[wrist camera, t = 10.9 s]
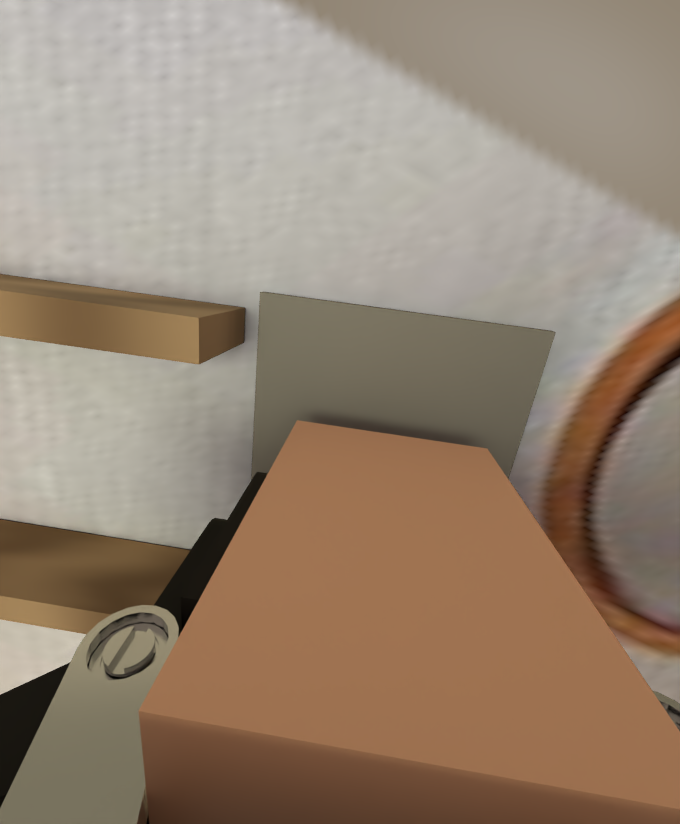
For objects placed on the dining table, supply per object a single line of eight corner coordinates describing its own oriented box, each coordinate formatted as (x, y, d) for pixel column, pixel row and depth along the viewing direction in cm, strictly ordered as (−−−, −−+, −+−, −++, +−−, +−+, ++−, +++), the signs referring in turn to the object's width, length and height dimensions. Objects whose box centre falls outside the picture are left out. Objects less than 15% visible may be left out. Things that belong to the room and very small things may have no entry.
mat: (550, 330, 10) (555, 332, 10) (456, 625, 14) (458, 632, 14) (263, 291, 10) (260, 292, 10) (248, 591, 14) (245, 597, 14)
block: (487, 448, 10) (739, 819, 3) (444, 595, 11) (544, 1037, 5) (297, 419, 10) (138, 710, 3) (283, 568, 11) (162, 957, 5)
